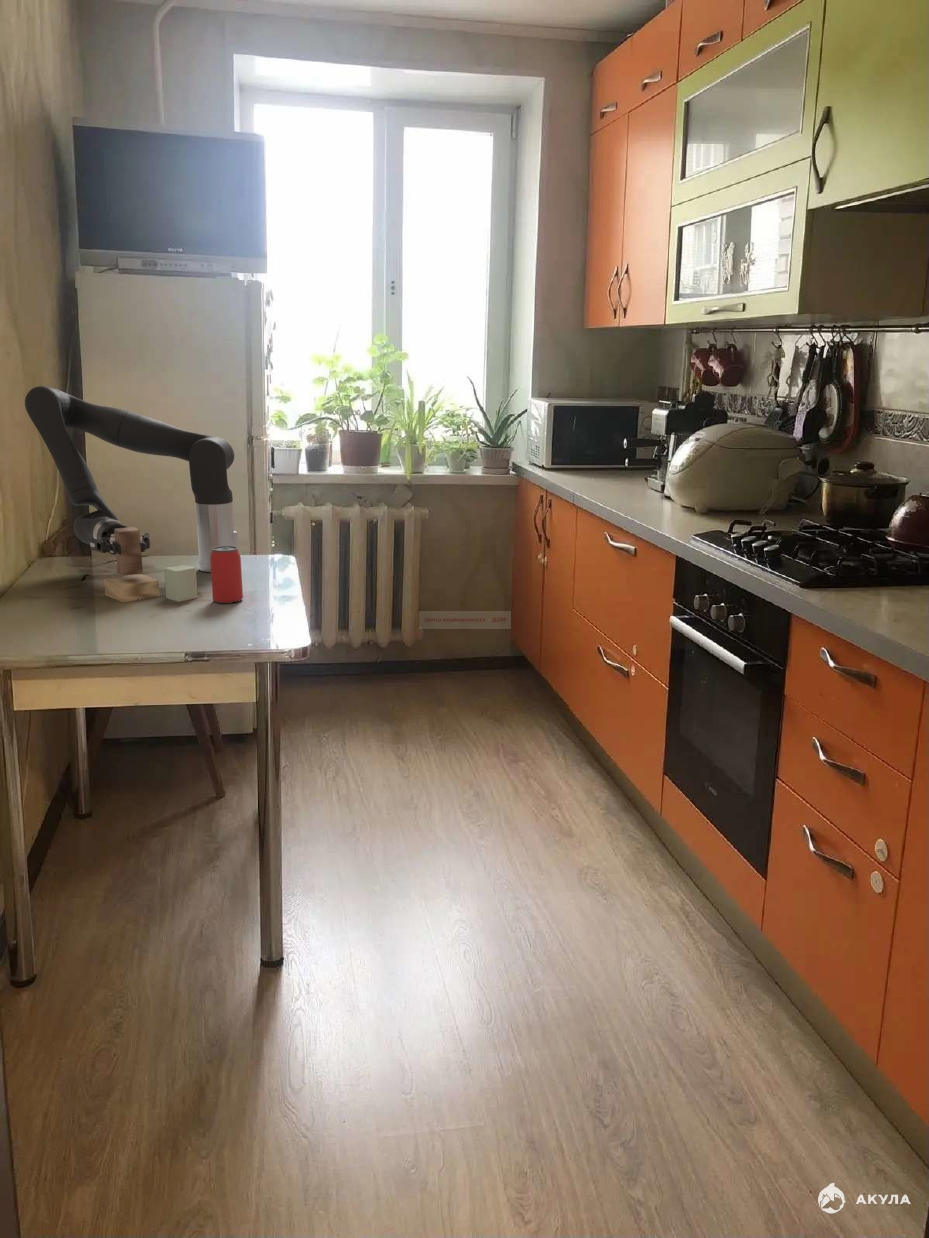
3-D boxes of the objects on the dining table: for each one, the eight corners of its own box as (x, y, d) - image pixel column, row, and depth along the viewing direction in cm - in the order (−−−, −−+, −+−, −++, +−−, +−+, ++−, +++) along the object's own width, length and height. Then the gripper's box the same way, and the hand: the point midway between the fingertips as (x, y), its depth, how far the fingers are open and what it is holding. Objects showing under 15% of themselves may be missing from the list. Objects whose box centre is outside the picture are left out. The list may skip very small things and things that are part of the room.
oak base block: (142, 590, 236) (141, 573, 235) (159, 597, 230) (158, 580, 228) (105, 596, 230) (103, 579, 229) (122, 603, 224) (120, 586, 223)
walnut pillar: (137, 569, 231) (134, 527, 229) (142, 573, 228) (139, 530, 225) (117, 572, 229) (113, 528, 226) (122, 575, 225) (118, 531, 223)
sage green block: (185, 594, 231) (183, 564, 229) (197, 597, 228) (195, 567, 226) (166, 598, 228) (164, 567, 226) (178, 601, 224) (176, 571, 223)
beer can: (246, 597, 228) (243, 545, 225) (237, 604, 222) (234, 551, 219) (218, 596, 229) (215, 545, 226) (208, 603, 223) (205, 550, 219)
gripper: (79, 523, 234) (96, 535, 220) (141, 518, 241) (162, 529, 227) (82, 554, 236) (99, 568, 222) (144, 548, 243) (164, 561, 229)
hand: (131, 548), depth 225 cm, fingers closed on walnut pillar, 4 cm apart
